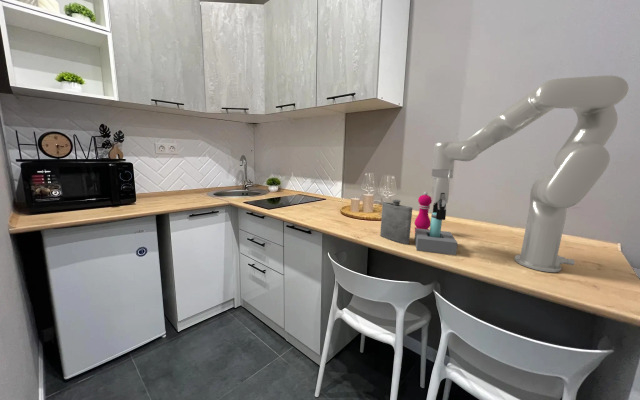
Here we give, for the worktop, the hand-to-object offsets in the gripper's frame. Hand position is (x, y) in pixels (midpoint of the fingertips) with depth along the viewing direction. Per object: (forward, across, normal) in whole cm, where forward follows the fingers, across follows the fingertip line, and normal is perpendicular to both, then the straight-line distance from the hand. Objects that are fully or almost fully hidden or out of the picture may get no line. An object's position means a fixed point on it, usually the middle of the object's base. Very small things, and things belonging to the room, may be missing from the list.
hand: (438, 216), depth 101 cm
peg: (+13, 0, -1) cm, 13 cm away
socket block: (+13, 0, -1) cm, 13 cm away
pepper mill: (+13, -19, -4) cm, 23 cm away
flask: (+13, -3, -17) cm, 21 cm away
